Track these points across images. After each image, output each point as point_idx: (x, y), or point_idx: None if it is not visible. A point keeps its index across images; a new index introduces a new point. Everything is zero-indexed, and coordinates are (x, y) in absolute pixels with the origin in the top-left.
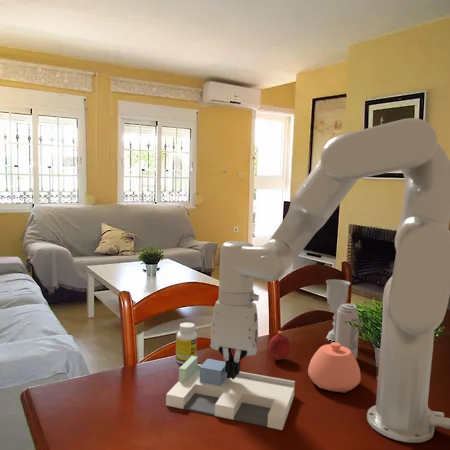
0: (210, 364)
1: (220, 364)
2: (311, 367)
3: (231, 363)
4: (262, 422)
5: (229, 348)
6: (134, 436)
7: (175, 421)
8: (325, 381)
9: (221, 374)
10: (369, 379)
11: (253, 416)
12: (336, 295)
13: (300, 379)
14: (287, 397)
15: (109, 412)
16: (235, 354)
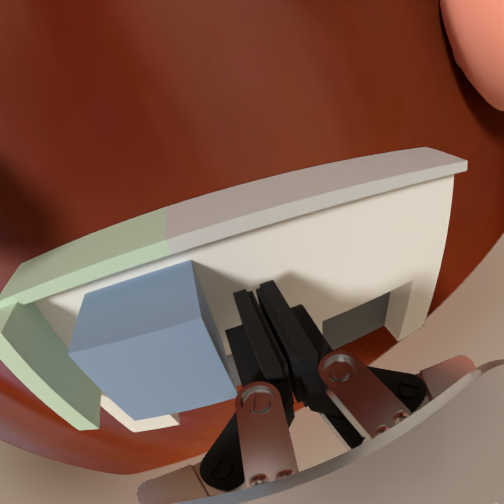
0: (143, 388)
1: (187, 365)
2: (494, 60)
3: (297, 400)
4: (374, 327)
5: (276, 450)
6: (181, 451)
7: (200, 419)
8: (501, 108)
9: (230, 372)
10: None
11: (353, 325)
12: None
13: (411, 19)
14: (440, 245)
15: (91, 443)
16: (342, 436)
